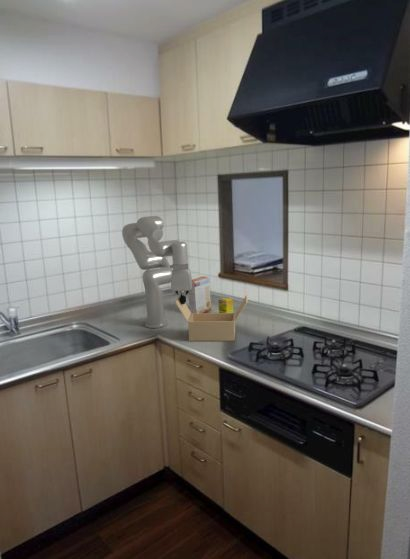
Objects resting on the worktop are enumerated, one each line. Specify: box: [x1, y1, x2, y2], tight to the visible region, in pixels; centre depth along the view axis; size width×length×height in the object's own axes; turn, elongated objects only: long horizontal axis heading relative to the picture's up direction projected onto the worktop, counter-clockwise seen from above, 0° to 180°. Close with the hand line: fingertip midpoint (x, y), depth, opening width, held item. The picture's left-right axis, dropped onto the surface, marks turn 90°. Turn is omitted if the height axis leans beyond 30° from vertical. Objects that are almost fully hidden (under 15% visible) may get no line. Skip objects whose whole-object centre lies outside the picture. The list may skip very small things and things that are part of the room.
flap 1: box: [174, 296, 191, 322], centre depth 211 cm, size 11×14×1 cm
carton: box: [187, 312, 236, 343], centre depth 212 cm, size 22×14×10 cm, turn 84°
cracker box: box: [187, 276, 212, 316], centre depth 252 cm, size 14×6×21 cm, turn 141°
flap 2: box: [234, 294, 248, 322], centre depth 208 cm, size 11×14×1 cm
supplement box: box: [218, 297, 234, 313], centre depth 242 cm, size 6×6×11 cm
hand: (183, 303), depth 211 cm, fingers closed
